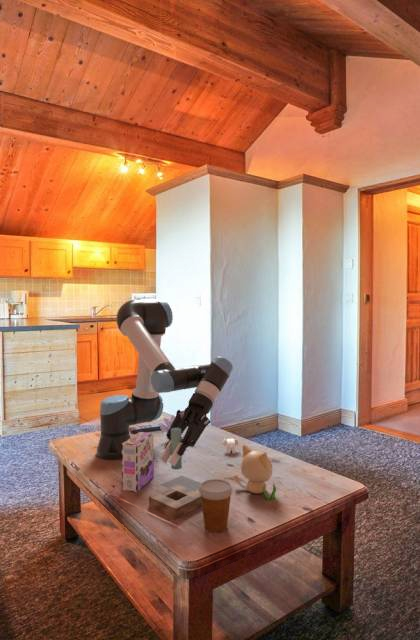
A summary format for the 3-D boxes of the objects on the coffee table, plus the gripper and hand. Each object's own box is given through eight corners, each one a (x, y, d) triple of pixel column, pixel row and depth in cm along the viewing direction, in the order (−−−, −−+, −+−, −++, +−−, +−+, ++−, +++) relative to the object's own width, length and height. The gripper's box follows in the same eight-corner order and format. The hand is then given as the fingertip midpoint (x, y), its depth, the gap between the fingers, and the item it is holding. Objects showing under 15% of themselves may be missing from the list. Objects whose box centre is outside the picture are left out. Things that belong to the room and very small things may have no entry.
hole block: (149, 507, 136) (148, 496, 136) (176, 494, 145) (176, 484, 145) (176, 520, 129) (176, 508, 128) (203, 505, 138) (203, 494, 137)
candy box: (137, 493, 146) (136, 444, 145) (121, 491, 148) (120, 443, 147) (154, 477, 160) (154, 432, 159) (139, 475, 161) (139, 430, 160)
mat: (160, 485, 152) (160, 484, 152) (181, 476, 160) (181, 475, 160) (185, 496, 144) (185, 494, 144) (206, 486, 152) (206, 484, 152)
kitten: (284, 494, 145) (285, 450, 144) (264, 504, 138) (264, 457, 137) (251, 480, 156) (251, 439, 155) (231, 489, 149) (231, 445, 149)
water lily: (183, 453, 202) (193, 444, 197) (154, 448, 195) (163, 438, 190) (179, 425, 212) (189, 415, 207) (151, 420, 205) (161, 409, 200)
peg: (169, 467, 136) (168, 429, 135) (176, 464, 138) (176, 426, 138) (176, 470, 134) (175, 431, 133) (183, 467, 136) (183, 428, 136)
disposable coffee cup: (198, 519, 129) (197, 479, 129) (230, 517, 130) (230, 477, 129) (200, 536, 120) (199, 493, 119) (234, 535, 121) (234, 492, 120)
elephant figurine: (238, 448, 188) (237, 435, 188) (239, 455, 180) (239, 441, 180) (222, 449, 188) (222, 435, 188) (223, 456, 180) (223, 441, 180)
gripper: (228, 408, 141) (192, 475, 130) (191, 401, 152) (156, 462, 141) (217, 395, 137) (179, 462, 126) (180, 388, 148) (142, 450, 136)
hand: (167, 462), depth 133 cm, fingers closed on peg, 3 cm apart
